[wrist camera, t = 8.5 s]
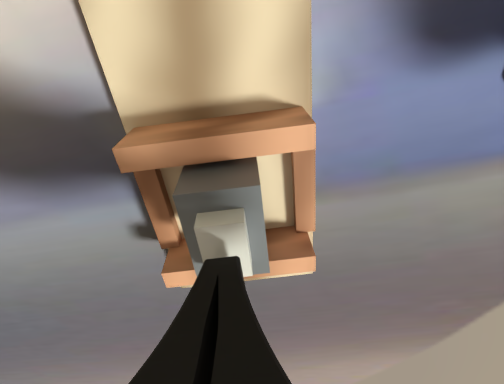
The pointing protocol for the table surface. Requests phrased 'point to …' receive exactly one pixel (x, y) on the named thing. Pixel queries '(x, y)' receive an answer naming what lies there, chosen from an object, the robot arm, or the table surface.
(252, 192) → the plug
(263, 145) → the wooden board with blocks
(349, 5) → the table surface
